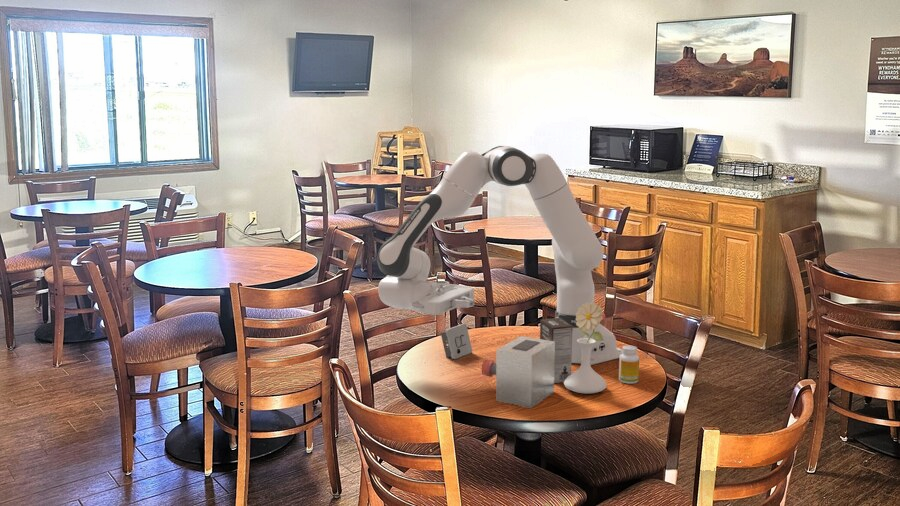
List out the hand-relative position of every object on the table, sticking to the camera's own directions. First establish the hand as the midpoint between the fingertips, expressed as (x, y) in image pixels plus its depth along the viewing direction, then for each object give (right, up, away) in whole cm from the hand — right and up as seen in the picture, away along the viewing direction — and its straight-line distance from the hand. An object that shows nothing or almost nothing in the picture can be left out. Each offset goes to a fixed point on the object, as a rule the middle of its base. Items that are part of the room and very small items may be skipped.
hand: (471, 303), depth 228 cm
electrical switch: (-4, -18, +27) cm, 32 cm away
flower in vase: (+31, -23, -4) cm, 39 cm away
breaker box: (+14, -24, -8) cm, 29 cm away
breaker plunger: (+8, -20, -6) cm, 22 cm away
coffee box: (+24, -21, +6) cm, 32 cm away
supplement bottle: (+44, -22, +3) cm, 49 cm away
